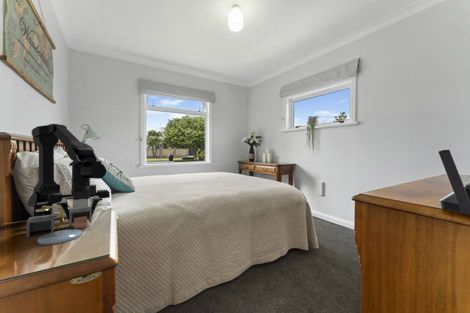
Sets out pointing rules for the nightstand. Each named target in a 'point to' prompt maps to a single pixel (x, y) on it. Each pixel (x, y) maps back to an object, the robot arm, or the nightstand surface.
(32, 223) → the empty hood
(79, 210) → the covering hood
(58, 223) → the balance
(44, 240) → the dish
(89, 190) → the robot arm
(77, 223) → the block
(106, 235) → the nightstand surface
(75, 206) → the skincare box
